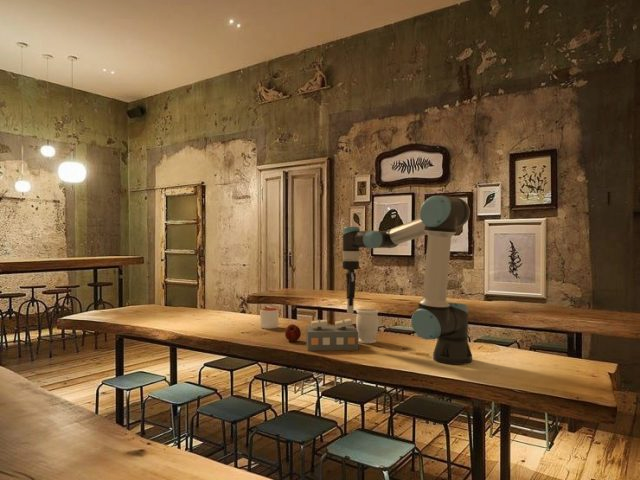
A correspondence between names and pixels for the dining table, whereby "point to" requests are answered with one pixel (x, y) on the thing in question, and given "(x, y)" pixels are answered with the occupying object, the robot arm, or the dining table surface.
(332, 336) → the console
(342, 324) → the switch
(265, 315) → the cup
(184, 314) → the dining table surface
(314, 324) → the switch
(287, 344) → the dining table surface
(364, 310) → the jar
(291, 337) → the apple
